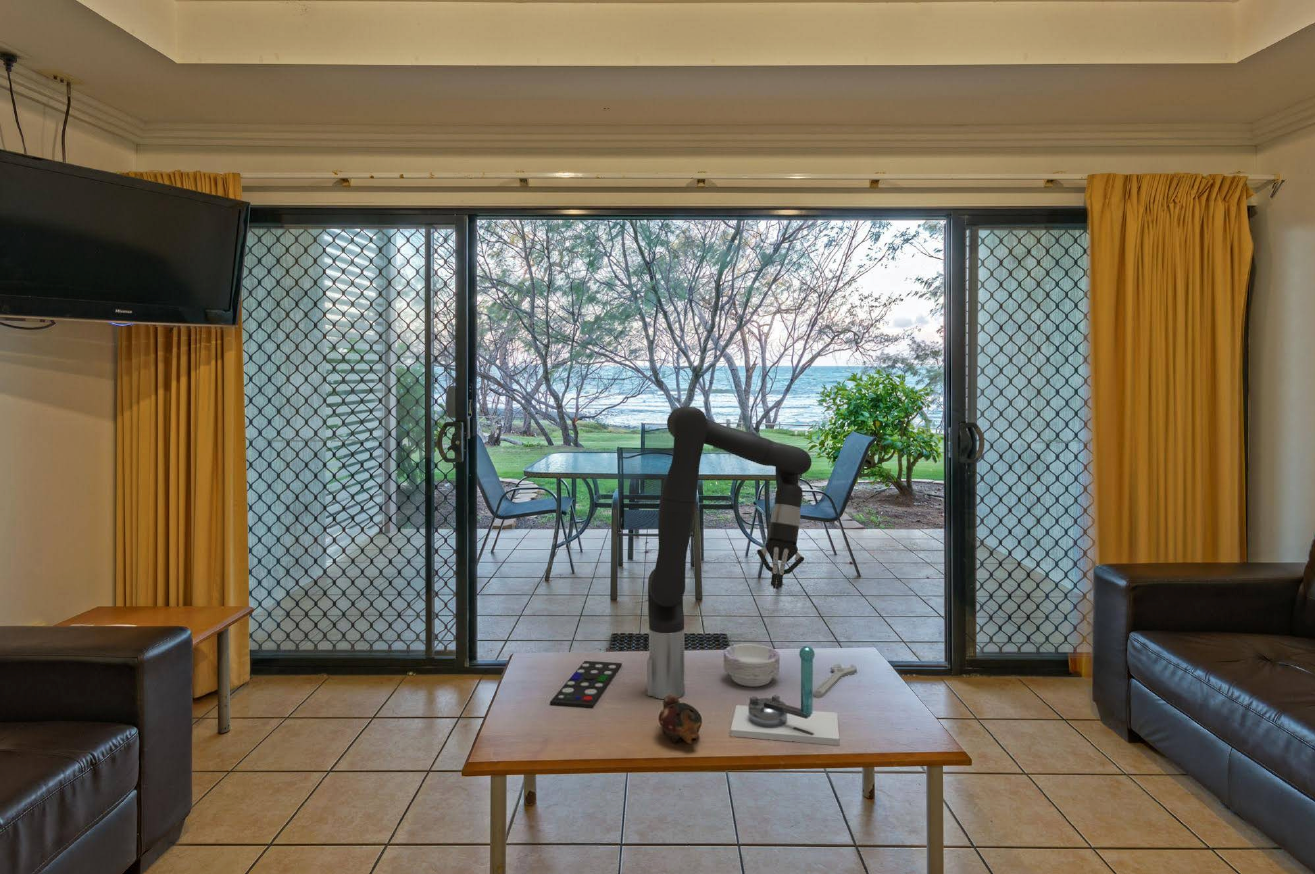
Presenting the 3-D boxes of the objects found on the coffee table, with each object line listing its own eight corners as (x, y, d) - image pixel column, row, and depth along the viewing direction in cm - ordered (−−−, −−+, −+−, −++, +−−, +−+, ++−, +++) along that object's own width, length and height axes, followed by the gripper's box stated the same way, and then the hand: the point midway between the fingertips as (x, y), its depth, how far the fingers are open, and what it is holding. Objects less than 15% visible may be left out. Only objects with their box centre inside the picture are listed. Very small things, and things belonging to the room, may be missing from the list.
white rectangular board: (730, 736, 168) (730, 728, 168) (736, 711, 181) (736, 704, 181) (839, 745, 163) (839, 737, 163) (836, 718, 177) (836, 711, 177)
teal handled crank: (741, 719, 172) (741, 639, 171) (760, 707, 179) (760, 629, 178) (804, 738, 162) (804, 653, 161) (822, 724, 169) (822, 642, 168)
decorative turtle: (681, 720, 176) (684, 688, 176) (714, 751, 163) (717, 716, 162) (645, 727, 172) (647, 693, 171) (676, 758, 158) (679, 723, 158)
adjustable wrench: (821, 701, 189) (820, 694, 189) (798, 695, 193) (798, 688, 193) (859, 671, 208) (859, 665, 208) (838, 667, 212) (838, 661, 212)
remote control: (550, 707, 186) (549, 699, 186) (584, 665, 216) (584, 658, 215) (592, 710, 184) (592, 702, 184) (621, 667, 213) (621, 661, 213)
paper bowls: (790, 686, 198) (790, 656, 197) (740, 694, 192) (740, 664, 191) (761, 667, 212) (761, 640, 211) (713, 675, 206) (713, 647, 205)
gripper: (759, 518, 193) (749, 584, 190) (810, 526, 191) (801, 593, 188) (760, 519, 200) (750, 584, 198) (809, 527, 198) (800, 592, 195)
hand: (775, 588), depth 193 cm, fingers closed
